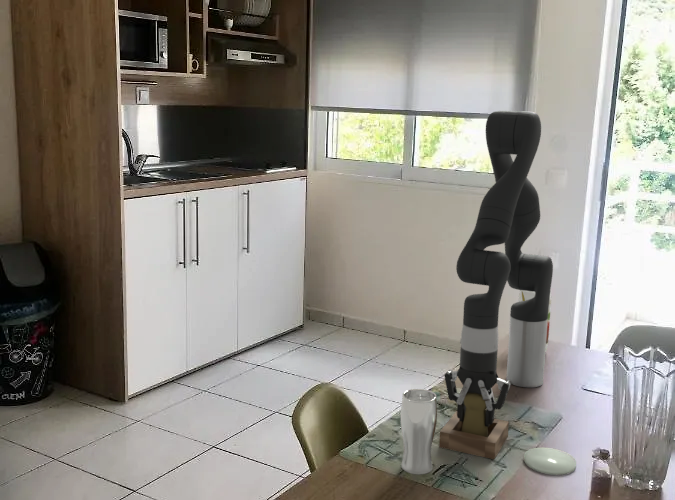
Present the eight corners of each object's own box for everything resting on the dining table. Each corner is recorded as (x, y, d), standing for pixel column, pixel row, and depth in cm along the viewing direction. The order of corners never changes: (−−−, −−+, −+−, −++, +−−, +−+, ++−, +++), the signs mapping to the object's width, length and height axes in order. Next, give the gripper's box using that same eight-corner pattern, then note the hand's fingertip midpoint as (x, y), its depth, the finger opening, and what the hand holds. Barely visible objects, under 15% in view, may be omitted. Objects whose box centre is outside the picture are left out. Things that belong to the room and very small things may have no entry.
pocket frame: (455, 425, 164) (456, 411, 163) (507, 436, 159) (508, 421, 159) (439, 447, 154) (439, 431, 153) (494, 459, 149) (495, 443, 148)
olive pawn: (488, 449, 153) (491, 399, 151) (458, 446, 154) (461, 397, 152) (488, 437, 159) (491, 388, 157) (460, 434, 160) (462, 386, 158)
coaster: (529, 447, 155) (529, 443, 154) (579, 457, 150) (579, 454, 150) (518, 467, 146) (519, 464, 146) (571, 479, 141) (571, 475, 141)
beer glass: (425, 479, 141) (428, 405, 138) (392, 469, 144) (395, 397, 141) (440, 464, 147) (443, 393, 144) (408, 455, 150) (411, 385, 147)
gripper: (518, 345, 153) (513, 422, 156) (451, 335, 159) (447, 409, 162) (509, 356, 146) (504, 436, 149) (440, 345, 152) (436, 422, 155)
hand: (474, 422), depth 156 cm, fingers closed on olive pawn, 5 cm apart
